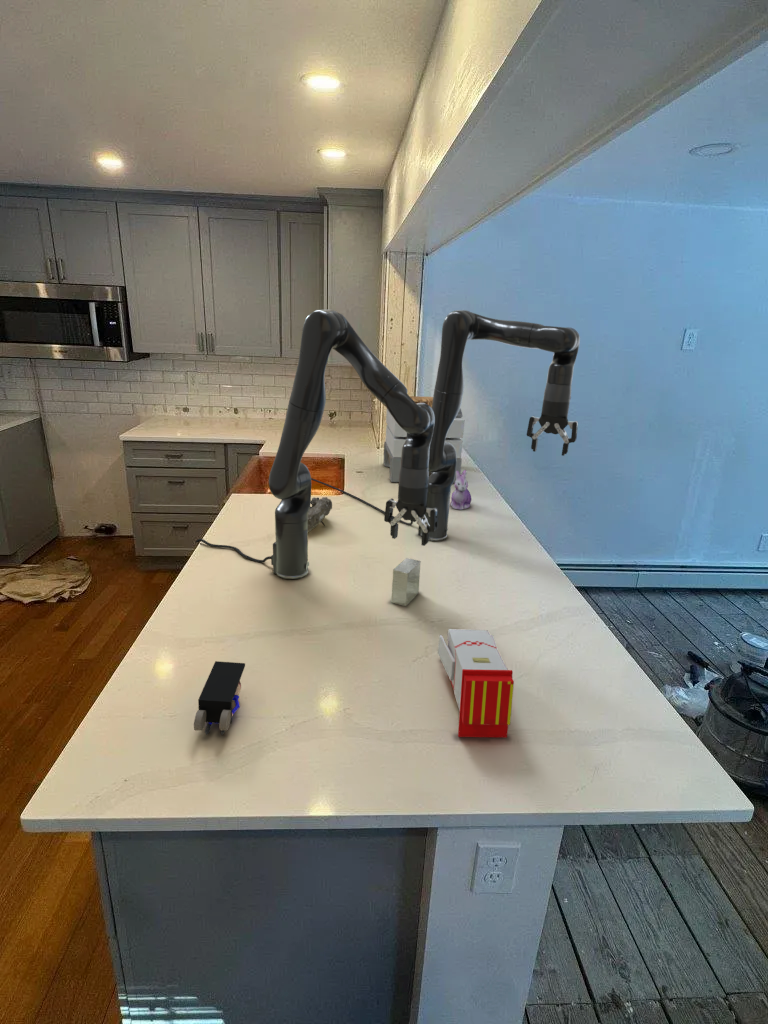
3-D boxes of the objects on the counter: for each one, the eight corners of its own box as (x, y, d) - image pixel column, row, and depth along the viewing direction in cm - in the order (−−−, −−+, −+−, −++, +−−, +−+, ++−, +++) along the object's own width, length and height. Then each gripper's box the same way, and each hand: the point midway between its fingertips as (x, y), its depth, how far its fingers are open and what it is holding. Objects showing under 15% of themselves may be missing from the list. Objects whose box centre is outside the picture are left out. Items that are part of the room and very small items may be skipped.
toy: (488, 613, 130) (523, 677, 101) (484, 667, 133) (517, 744, 104) (435, 612, 130) (455, 676, 101) (432, 666, 133) (451, 743, 103)
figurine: (458, 511, 224) (461, 475, 219) (444, 503, 233) (446, 468, 228) (477, 508, 228) (481, 473, 223) (462, 501, 237) (466, 466, 232)
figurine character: (231, 748, 102) (248, 688, 116) (228, 717, 99) (246, 659, 113) (194, 747, 102) (215, 687, 116) (189, 716, 99) (212, 658, 112)
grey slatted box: (382, 463, 289) (386, 382, 275) (445, 464, 293) (451, 384, 279) (390, 482, 257) (394, 392, 243) (460, 483, 261) (468, 394, 247)
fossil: (299, 502, 213) (329, 481, 208) (315, 521, 216) (345, 501, 211) (284, 530, 194) (317, 507, 189) (302, 550, 196) (335, 528, 191)
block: (391, 602, 153) (393, 569, 150) (404, 589, 161) (406, 557, 157) (405, 606, 151) (407, 573, 148) (418, 593, 159) (420, 561, 156)
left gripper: (382, 481, 144) (379, 540, 150) (434, 491, 139) (429, 552, 144) (394, 474, 151) (391, 531, 156) (444, 484, 145) (439, 542, 151)
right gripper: (529, 398, 165) (522, 452, 171) (580, 403, 159) (571, 459, 165) (534, 395, 171) (528, 447, 177) (583, 400, 166) (575, 454, 171)
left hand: (409, 541), depth 150 cm, fingers open, 8 cm apart
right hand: (548, 453), depth 171 cm, fingers open, 8 cm apart
